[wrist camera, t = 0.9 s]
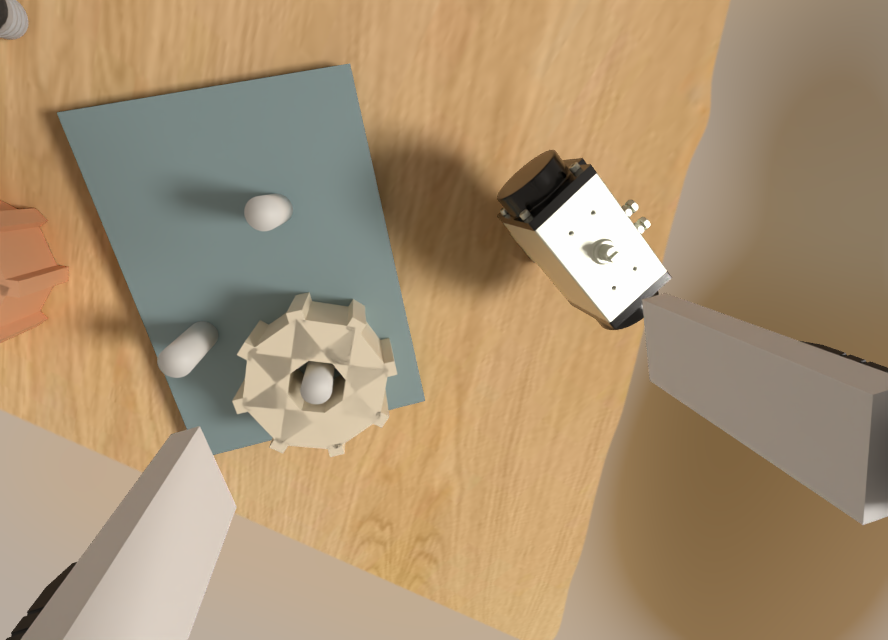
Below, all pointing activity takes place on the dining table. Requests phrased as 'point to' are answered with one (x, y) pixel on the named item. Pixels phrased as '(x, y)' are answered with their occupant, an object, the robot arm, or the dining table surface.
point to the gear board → (256, 255)
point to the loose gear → (24, 270)
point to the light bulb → (12, 19)
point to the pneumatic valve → (582, 238)
